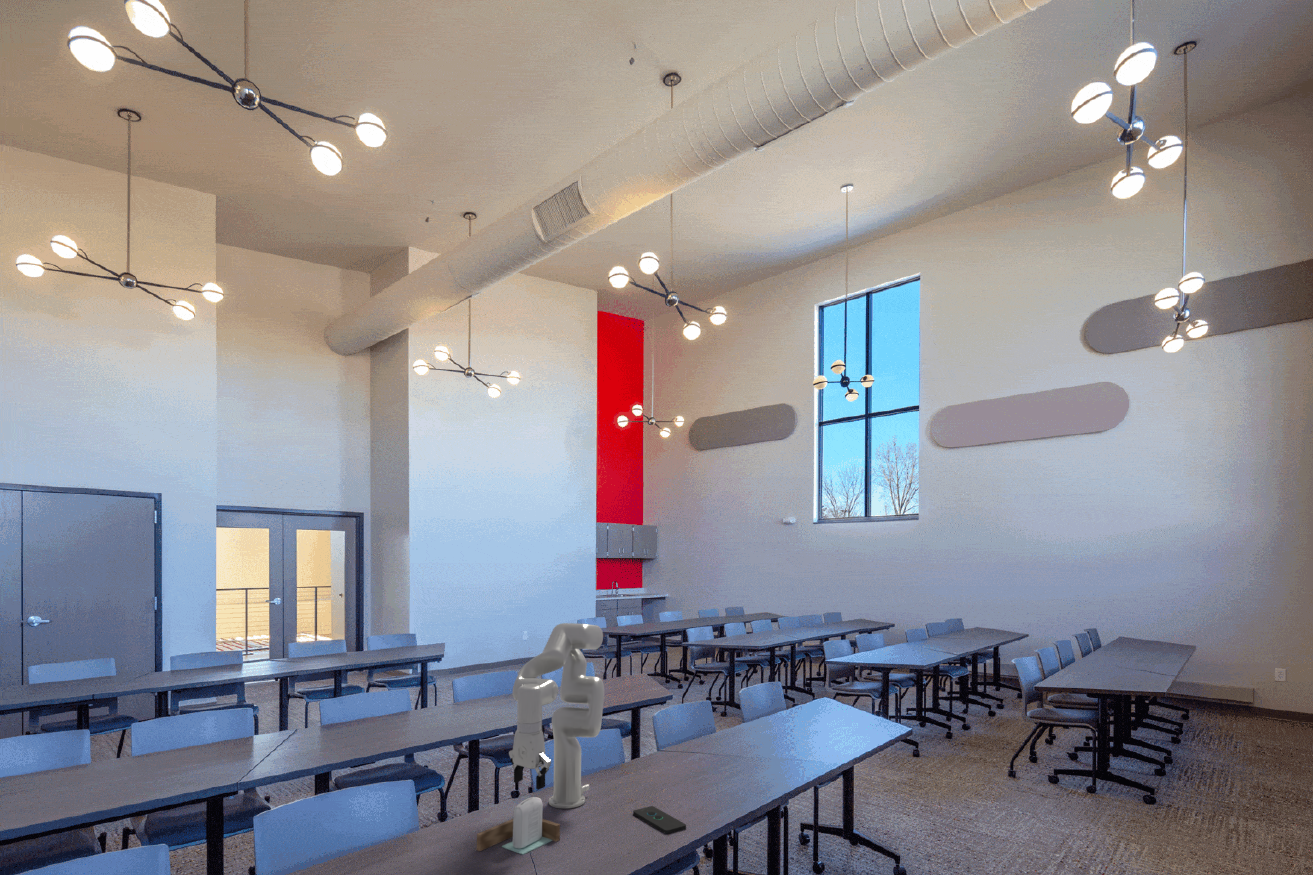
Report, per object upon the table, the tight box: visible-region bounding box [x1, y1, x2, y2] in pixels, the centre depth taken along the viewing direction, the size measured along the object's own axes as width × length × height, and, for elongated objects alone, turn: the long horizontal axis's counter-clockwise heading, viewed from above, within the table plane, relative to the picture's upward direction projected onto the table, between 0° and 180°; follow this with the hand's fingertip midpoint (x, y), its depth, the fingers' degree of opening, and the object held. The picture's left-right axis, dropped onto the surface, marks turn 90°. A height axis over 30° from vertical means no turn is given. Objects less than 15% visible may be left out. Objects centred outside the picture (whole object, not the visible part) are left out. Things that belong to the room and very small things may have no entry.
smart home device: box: [632, 805, 687, 835], centre depth 231 cm, size 8×2×20 cm
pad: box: [501, 837, 553, 856], centre depth 214 cm, size 12×9×1 cm
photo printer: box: [512, 796, 544, 849], centre depth 215 cm, size 10×4×12 cm, turn 149°
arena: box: [476, 818, 561, 852], centre depth 214 cm, size 20×15×4 cm
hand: (529, 784), depth 217 cm, fingers open, 9 cm apart
